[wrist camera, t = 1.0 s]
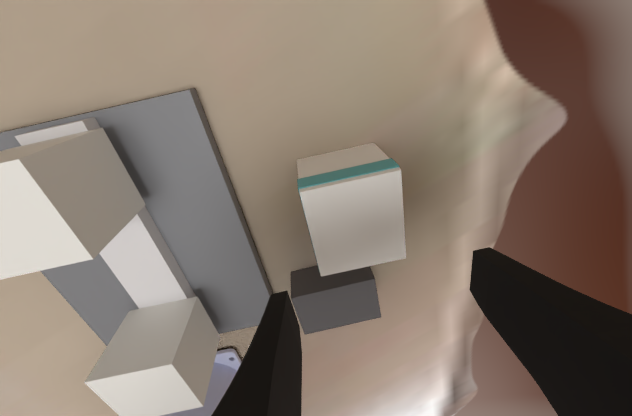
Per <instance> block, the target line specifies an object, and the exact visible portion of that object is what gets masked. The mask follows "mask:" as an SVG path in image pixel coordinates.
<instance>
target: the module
mask: <svg viewBox="0 0 632 416" xmlns="http://www.w3.org/2000/svg"><path fill="white" fill-rule="evenodd" d="M297 169H298V179H297V182H298V190H299V194H300V198H301V202H302V206H303V210H304V214H305V218H306V222H307V226H308V229H309V233H310V237H311V241H312V245H313V249H314V253H315V257H316V261H317V265H318V269H319V272H320V275H321V276H326V275H331V274H335V273H340V272H345V271H349V270H354V269H359V268H363V267H368V266H373V265H377V264H382V263H387V262H391V261H396V260H400V259H405V258H406V246H405V229H404V211H403V193H402V176H401V169H400V168H399V165H398V164H397V163H396V162H395V161H394V160H393V159H392V158H389V157H388V156H387V155H386V154H385V153H384V152H383V151H382V150H381V149H380V148H379V147H378V146H377V145H376V144H375V143H369V144H365V145H360V146H356V147H351V148H347V149H342V150H338V151H334V152H329V153H325V154H320V155H316V156H311V157H307V158H302V159H298V160H297Z"/></svg>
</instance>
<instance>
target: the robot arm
mask: <svg viewBox="0 0 632 416" xmlns="http://www.w3.org/2000/svg"><path fill="white" fill-rule="evenodd" d="M470 291H471V293H472V295H473V296H474V298H475V300H476V302H477V303H478V305H479V307H480V308H481V310H482V311H483V313H484V315H485V316H486V317H487V319H488V320H489V321H490V323H491V324H492V325H493V327H494V328H495V329H496V330H497V332H498V333H499V334H500V335H501V337H502V338H503V339H504V341H505V342H506V343H507V345H508V346H509V347H510V348H511V350H512V351H513V352H514V353H515V355H516V356H517V357H518V359H519V360H520V361H521V363H522V364H523V365H524V366H525V368H526V369H527V370H528V371H529V373H530V374H531V376H532V377H533V378H534V380H535V381H536V383H537V384H538V385H539V387H540V388H541V390H542V391H543V393H544V394H545V396H546V397H547V399H548V401H549V402H550V404H551V405H552V407H553V408H554V410H555V411H556V413H557V414H558V416H632V314H629V313H627V312H624V311H622V310H619V309H617V308H614V307H612V306H609V305H607V304H605V303H602V302H600V301H597V300H595V299H593V298H591V297H589V296H587V295H584V294H582V293H580V292H578V291H576V290H573V289H571V288H569V287H567V286H565V285H563V284H561V283H559V282H556V281H555V280H552V279H551V278H549V277H546V276H545V275H543V274H541V273H539V272H537V271H535V270H532V269H531V268H529V267H527V266H525V265H523V264H521V263H519V262H517V261H515V260H513V259H511V258H509V257H507V256H506V255H503V254H502V253H500V252H497V251H496V250H494V249H492V248H484V249H480V250H475V251H473V260H472V271H471V282H470ZM301 388H302V350H301V338H300V328H299V324H298V321H297V318H296V315H295V312H294V309H293V306H292V304H291V301H290V298H289V295H288V292H287V291H284V292H279V293H275V294H271V296H270V297H269V300H268V303H267V306H266V308H265V311H264V314H263V316H262V319H261V321H260V323H259V326H258V328H257V331H256V333H255V335H254V337H253V340H252V342H251V344H250V346H249V348H248V350H247V353H246V354H245V356H244V358H243V360H242V361H241V360H240V358H239V356H238V354H237V352H236V351H235V350H234V349H225V350H220V351H217V353H216V357H215V361H214V365H213V369H212V373H211V377H210V382H209V386H208V390H207V394H206V398H205V402H204V406H203V407H199V408H194V409H190V410H185V411H180V412H175V413H170V414H165V415H161V416H301Z"/></svg>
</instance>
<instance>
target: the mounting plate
mask: <svg viewBox="0 0 632 416" xmlns="http://www.w3.org/2000/svg"><path fill="white" fill-rule="evenodd" d="M37 271H41V272H42V273H43V275H44V276H45V277H46V278H47V279H48V280H49V281H50V282H51V284H52V285H53V286H54V287H55V288H56V289H57V290H58V291H59V293H60V294H61V295H62V296H63V297H64V298H65V299H66V301H67V302H68V303H69V304H70V305H71V306H72V307H73V308H74V310H75V311H76V312H77V313H78V314H79V315H80V316H81V317H82V319H83V320H84V321H85V322H86V323H87V324H88V325H89V326H90V328H91V329H92V330H93V331H94V332H95V333H96V334H97V335H98V337H99V338H100V339H101V340H102V341H103V342H104V343H105V344H106V346H107V347H106V349H105V350H104V352H103V353H102V355H101V357H100V358H99V360H98V361H97V363H96V365H95V366H94V368H93V369H92V371H91V373H90V374H89V376H88V377H87V379H86V381H85V382H84V383H85V384H86V385H87V386H88V387H89V388H91V389H92V390H93V391H94V392H95V393H96V394H97V395H98V396H99V397H100V398H101V399H102V400H103V401H104V402H105V403H106V404H107V405H108V406H109V407H111V408H112V409H113V410H114V411H115V412H116V413H117V414H118V415H119V416H161V415H165V414H170V413H175V412H180V411H185V410H190V409H194V408H199V407H203V406H204V402H205V398H206V394H207V390H208V386H209V382H210V377H211V373H212V369H213V365H214V361H215V357H216V353H217V349H218V345H219V340H220V335H219V334H220V333H225V332H229V331H234V330H239V329H244V328H248V327H253V326H258V325H259V323H260V321H261V319H262V316H263V314H264V311H265V308H266V306H267V303H268V300H269V297H270V296H271V294H273V293H272V290H271V287H270V285H269V282H268V279H267V277H266V274H265V272H264V269H263V266H262V264H261V261H260V258H259V256H258V253H257V250H256V248H255V245H254V243H253V240H252V237H251V235H250V232H249V229H248V227H247V224H246V221H245V219H244V216H243V214H242V211H241V208H240V206H239V203H238V200H237V198H236V195H235V192H234V190H233V187H232V185H231V182H230V179H229V177H228V174H227V171H226V169H225V166H224V163H223V161H222V158H221V156H220V153H219V150H218V148H217V145H216V142H215V140H214V137H213V134H212V132H211V129H210V127H209V124H208V121H207V119H206V116H205V113H204V111H203V108H202V105H201V103H200V100H199V98H198V95H197V92H196V90H195V88H193V89H188V90H184V91H180V92H175V93H171V94H166V95H162V96H158V97H153V98H149V99H145V100H140V101H136V102H132V103H127V104H123V105H118V106H114V107H110V108H105V109H101V110H97V111H92V112H88V113H83V114H79V115H75V116H70V117H66V118H62V119H57V120H53V121H48V122H44V123H40V124H35V125H31V126H27V127H22V128H18V129H14V130H9V131H5V132H0V279H5V278H9V277H14V276H19V275H23V274H28V273H32V272H37Z"/></svg>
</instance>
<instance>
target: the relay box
mask: <svg viewBox="0 0 632 416" xmlns="http://www.w3.org/2000/svg"><path fill="white" fill-rule="evenodd" d="M291 299H292V302H293V305H294V307H295V310H296V313H297V315H298V318H299V320H300V323H301V326H302V328H303V331H304V334H310V333H314V332H318V331H323V330H327V329H331V328H336V327H340V326H345V325H349V324H353V323H358V322H362V321H366V320H371V319H375V318H380V317H381V313H380V307H379V301H378V295H377V289H376V283H375V278H374V276H373V273H372V271H371V268H370V266H368V267H363V268H359V269H354V270H349V271H345V272H340V273H335V274H331V275H326V276H321V275H320V272H319V269H318V266H313V267H309V268H305V269H301V270H296V271H292V272H291Z"/></svg>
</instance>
